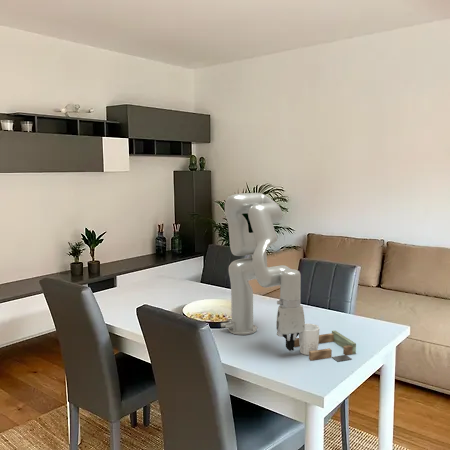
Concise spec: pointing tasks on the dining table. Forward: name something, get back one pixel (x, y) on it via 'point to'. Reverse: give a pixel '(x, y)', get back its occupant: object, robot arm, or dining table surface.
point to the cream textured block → (309, 339)
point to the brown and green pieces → (336, 337)
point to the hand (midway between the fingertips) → (290, 349)
